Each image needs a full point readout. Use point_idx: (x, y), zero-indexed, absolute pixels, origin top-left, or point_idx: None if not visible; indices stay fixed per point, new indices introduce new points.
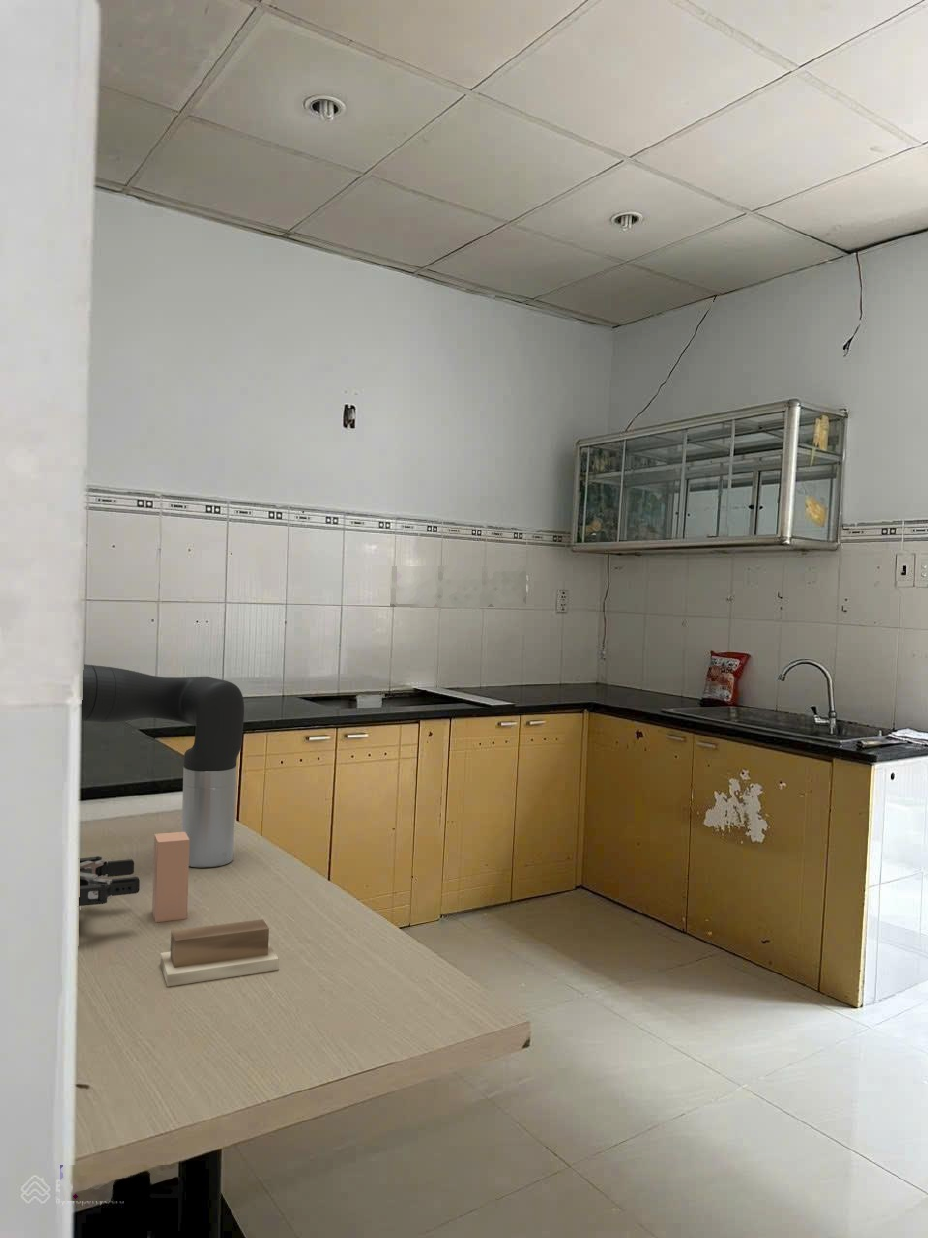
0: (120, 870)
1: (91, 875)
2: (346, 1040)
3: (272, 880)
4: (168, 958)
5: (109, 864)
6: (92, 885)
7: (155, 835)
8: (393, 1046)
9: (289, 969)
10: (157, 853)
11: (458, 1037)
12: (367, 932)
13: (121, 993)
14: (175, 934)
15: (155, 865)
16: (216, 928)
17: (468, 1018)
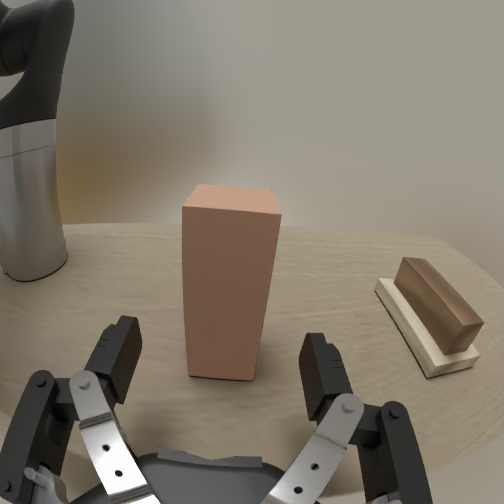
0: (130, 363)
1: (323, 453)
2: (483, 283)
3: (150, 242)
4: (448, 357)
5: (113, 375)
6: (394, 444)
7: (201, 206)
8: (478, 271)
9: None
10: (271, 248)
11: (460, 254)
12: (329, 236)
13: (490, 406)
14: (470, 321)
15: (229, 286)
16: (440, 288)
17: (442, 246)
